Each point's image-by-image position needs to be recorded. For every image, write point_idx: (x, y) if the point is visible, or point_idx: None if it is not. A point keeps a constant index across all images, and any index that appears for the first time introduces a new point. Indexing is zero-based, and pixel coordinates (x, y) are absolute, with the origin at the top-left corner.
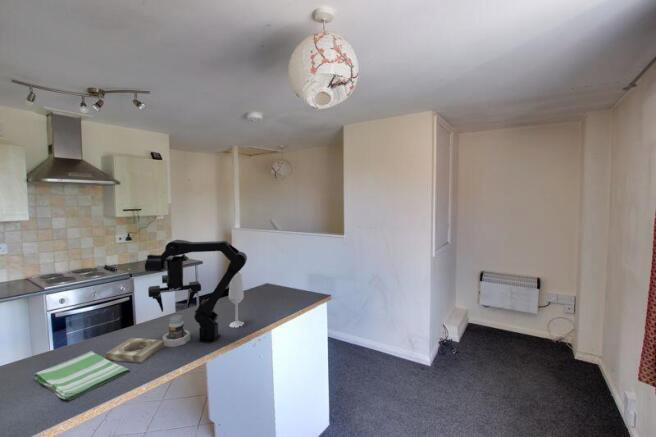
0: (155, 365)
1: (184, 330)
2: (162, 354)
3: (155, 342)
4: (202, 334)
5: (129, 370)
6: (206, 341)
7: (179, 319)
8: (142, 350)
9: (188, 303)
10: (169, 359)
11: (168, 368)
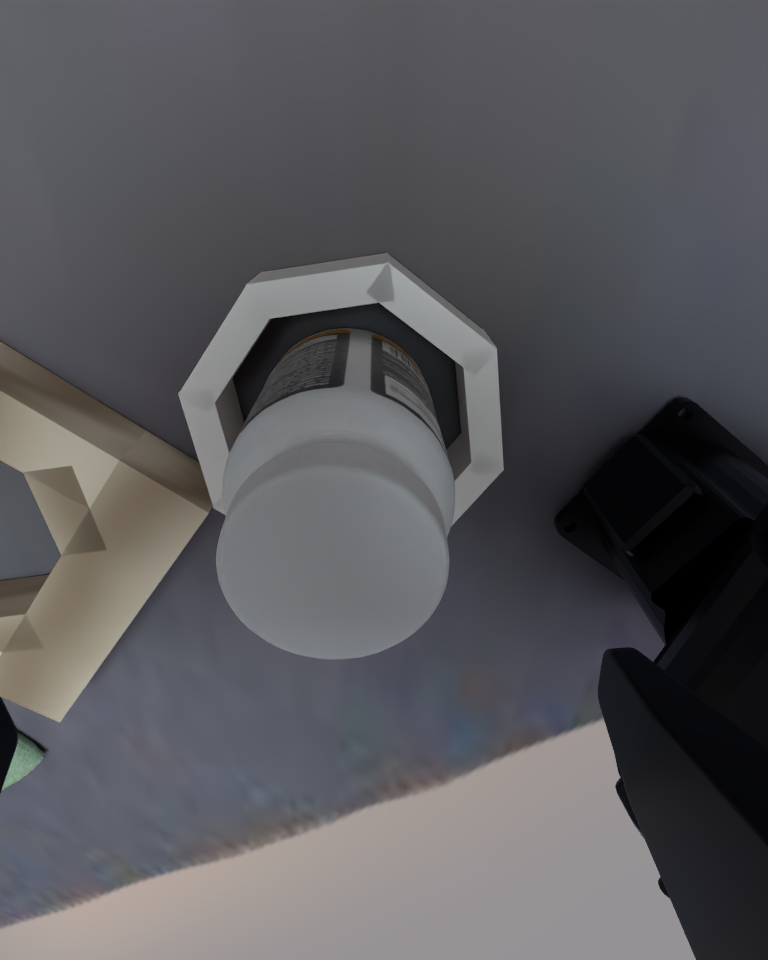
0: (201, 740)
1: (452, 332)
2: (230, 617)
3: (124, 524)
4: (619, 563)
5: (36, 761)
6: (618, 573)
7: (388, 637)
8: (38, 639)
9: (674, 874)
10: (291, 706)
11: (291, 798)
